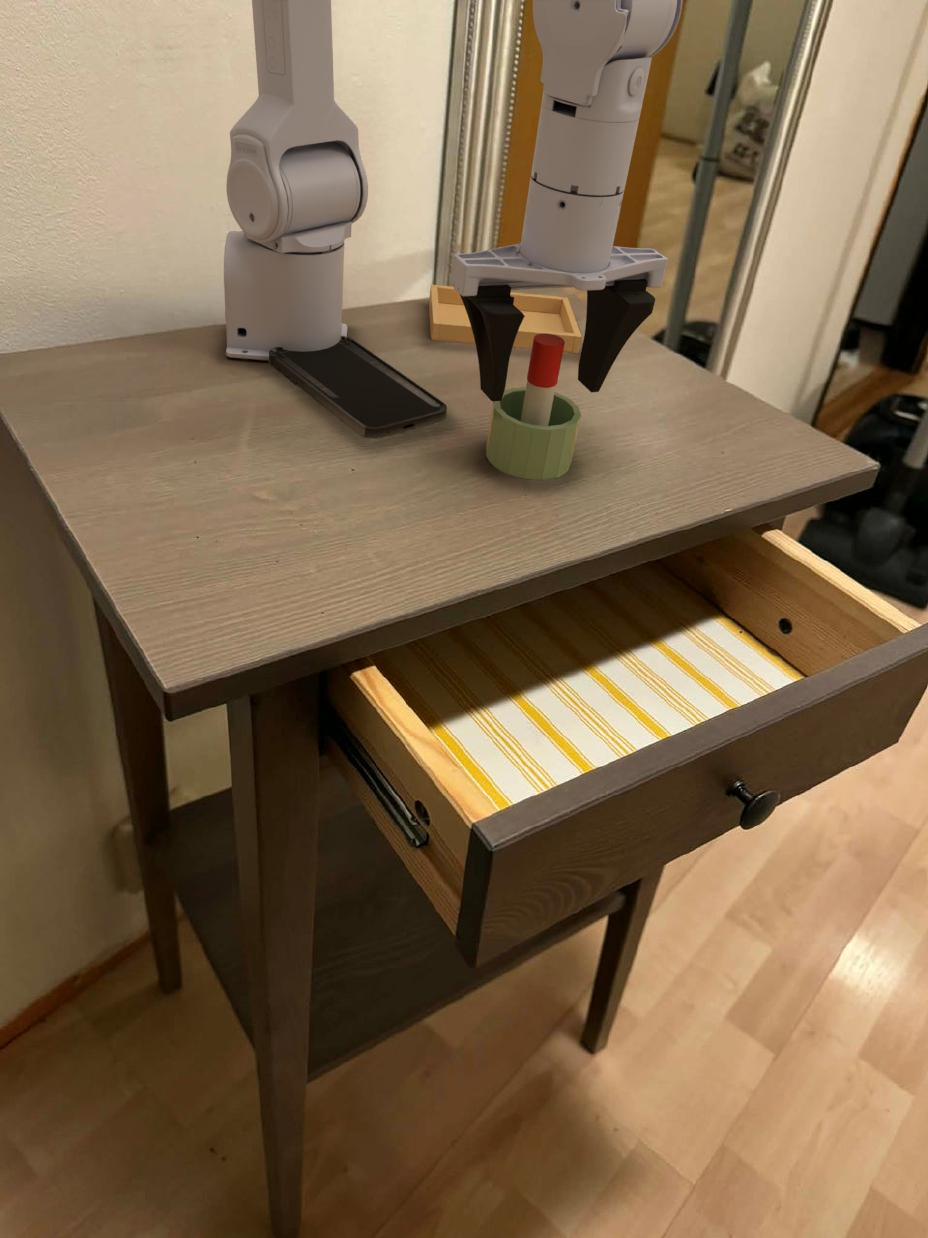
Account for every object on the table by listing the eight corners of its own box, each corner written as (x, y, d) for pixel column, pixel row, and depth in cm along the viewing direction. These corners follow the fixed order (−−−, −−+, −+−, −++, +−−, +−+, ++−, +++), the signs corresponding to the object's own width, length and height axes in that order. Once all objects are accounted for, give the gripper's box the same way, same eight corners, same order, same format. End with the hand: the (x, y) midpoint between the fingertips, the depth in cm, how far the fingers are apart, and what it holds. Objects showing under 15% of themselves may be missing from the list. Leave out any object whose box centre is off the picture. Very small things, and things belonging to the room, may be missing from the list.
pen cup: (488, 482, 66) (497, 425, 64) (482, 439, 71) (490, 383, 68) (574, 488, 67) (587, 432, 64) (563, 445, 72) (574, 390, 69)
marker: (515, 463, 68) (535, 344, 62) (512, 448, 69) (532, 331, 64) (544, 465, 68) (566, 347, 62) (540, 450, 70) (562, 334, 64)
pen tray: (431, 344, 83) (433, 322, 82) (428, 304, 90) (430, 284, 89) (577, 357, 85) (581, 336, 83) (563, 317, 92) (567, 297, 91)
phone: (344, 333, 80) (453, 408, 72) (344, 346, 81) (451, 422, 72) (262, 349, 76) (367, 431, 67) (262, 363, 77) (366, 445, 68)
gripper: (496, 204, 51) (467, 427, 60) (713, 202, 57) (658, 407, 65) (447, 166, 56) (427, 378, 65) (652, 168, 62) (608, 363, 70)
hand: (540, 390), depth 65 cm, fingers open, 7 cm apart
